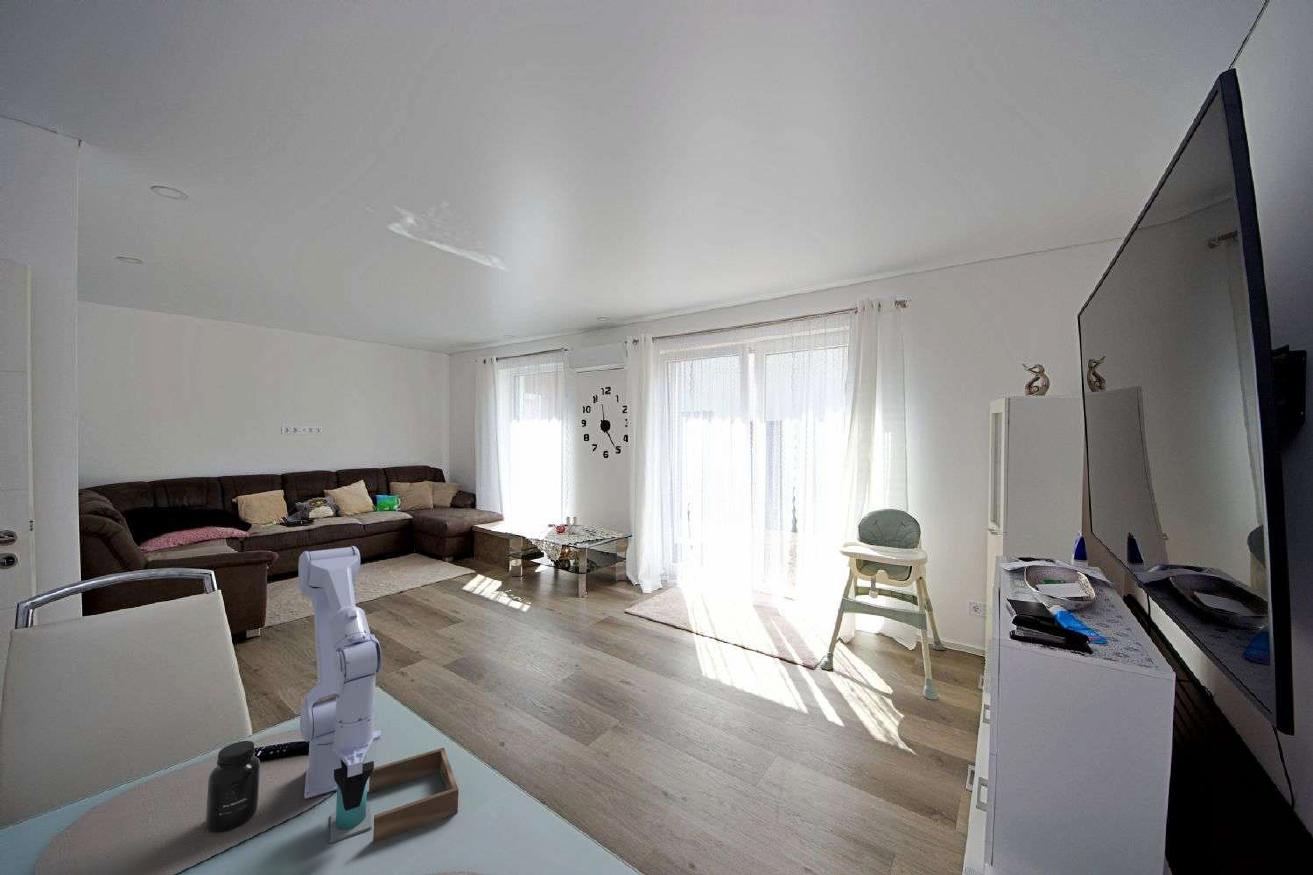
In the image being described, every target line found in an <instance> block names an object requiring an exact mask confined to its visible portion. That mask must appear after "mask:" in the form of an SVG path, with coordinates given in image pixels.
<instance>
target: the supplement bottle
mask: <svg viewBox="0 0 1313 875" xmlns="http://www.w3.org/2000/svg"><path fill="white" fill-rule="evenodd" d="M260 760H261V759H259V757H258V756H255V743H254V741H251V740H241V741H237V742H233V743H231V744H227V745H226V746H224V747H222V749H220V750H219V752H217V761H216V767H214V768H213V770H212V771H211V773H210V774H209V776H208V782H207V796H206V810H205V812H206V813H205V829H206V831H208V832H210V833H213V834H221V833H226V832H230V831H233V830H235V829H238V828H240V827H241V826H243V825H245V824H247V823H248V822H249V821H250V820H252V818H253V817H255V814H256V813H257V811H258V805H259V793H260V791H259V790H260V779H261V761H260Z"/></svg>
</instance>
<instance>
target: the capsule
mask: <svg viewBox="0 0 1313 875" xmlns="http://www.w3.org/2000/svg"><path fill="white" fill-rule="evenodd" d="M367 788H368V781H367V782H366V785H365V789H364V793H363V797H362V800H361V803H360V806H359V807H357V808H354V809H350V810H347V811H345V809H344V805H343V800H342V794H341V790H340V788H339V786H338V785H337V790H336V806H335V811H336V827H337V828H338V829H340V830H346V829H351V828H353V827H355V826H357V825H359V824H360V823H361V822H362V821H363V820H364V819H365V817H366V801H367V791H368V789H367Z"/></svg>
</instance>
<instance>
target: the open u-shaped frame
mask: <svg viewBox="0 0 1313 875" xmlns="http://www.w3.org/2000/svg"><path fill="white" fill-rule="evenodd" d="M437 772H439V773H440V776H441V779H442V783H443V786H444V791H442V792H441V791H440V792H438V793H435V794H432V795H429V796H426V797H424V798H420V799H418V800H417V799H416V800H415V801H412V802H409V803H406V804H403V805H400V806H397V807H394V808H391V809H388V810H386V811H383V812H380V813H377V814H374V815H373V816H374V817H373V837H372V838H373V839H372V842H373V844H374V843H378V842H380V841H382V840H385V839H388V838H391V837H394V836H396V835H399V834H400V835H401V834H402V833H405V832H408V831H410V830H411V831H412V830H413V829H415V828H419V827H420V826H424V825H426V824H430V823H432V822H435V821H437V820H440V819H443V818H445V817H446V818H447V817H448V816H450V815H453V814H456V813H459V812H458V810H459V788H458V787H459V786H458V784H457V781H456V778H455V776H454V773H453V770H452V767H451V764H450V761H449V758H448V756H447V751H446V749H445V747H441V748H437V749H434V750H430V751H426V752H424V753H420V754H416V755H414V756H410V757H406V758H403V759H400V760H397V761H393V762H390V763H386V764H382V765H380V766H379V765H378V766H374V769H373V771H372V773H371V774H370V776H369V778H368V793H369V794H371V793H376V792H378V791H381V790H384V789H387V788H389V787H393V786H397V785H399V784H402V783H406V782H408V781H412V780H415V779H418V778H422V777H425V776H428V775H432V774H434V773H437Z"/></svg>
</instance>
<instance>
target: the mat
mask: <svg viewBox="0 0 1313 875" xmlns="http://www.w3.org/2000/svg"><path fill="white" fill-rule="evenodd" d="M370 806H371V804H370V800H366V817H365V819H364V820H363V821H362V822H361V823H360V824H359V825H357V826H355V827H353V828H351V829H346V830H340V829H338V828H337V827H336V810H335V811H332V812H330V839H329V840H330V841H329V843H330V844H333V843H335V842H338V841H341V840H343V839H346V838H350V837H352V836H354V835H358V834H360V833H363V832H364V833H365V832H366V831H369V830H372V826H373V825H372V817H371V816H372V814H371V807H370Z"/></svg>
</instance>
